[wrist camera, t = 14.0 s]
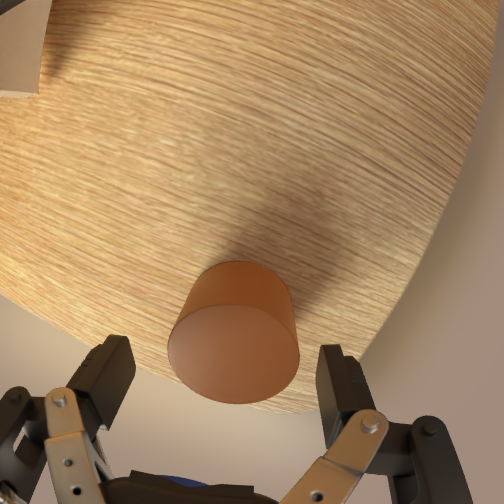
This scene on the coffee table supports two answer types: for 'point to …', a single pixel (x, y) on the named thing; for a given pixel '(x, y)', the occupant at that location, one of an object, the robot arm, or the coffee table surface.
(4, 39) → the drawer
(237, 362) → the orange brown cylinder
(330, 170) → the coffee table surface
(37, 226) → the coffee table surface
